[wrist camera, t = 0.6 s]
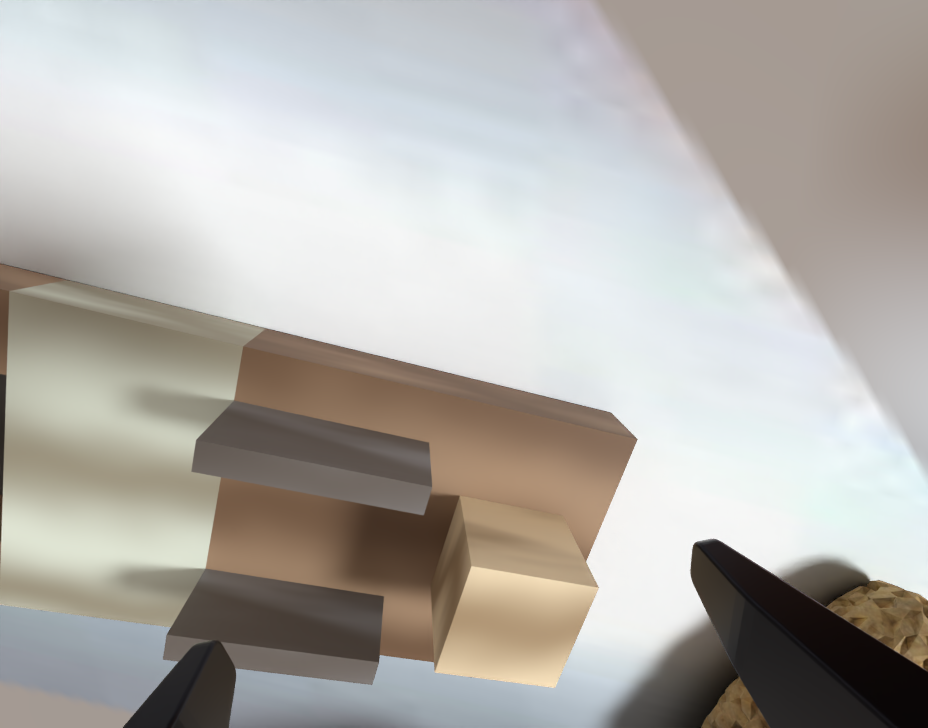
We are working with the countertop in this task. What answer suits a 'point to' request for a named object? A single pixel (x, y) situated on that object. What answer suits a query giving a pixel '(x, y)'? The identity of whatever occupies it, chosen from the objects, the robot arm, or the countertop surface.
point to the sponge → (869, 608)
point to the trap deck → (258, 477)
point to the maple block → (508, 594)
